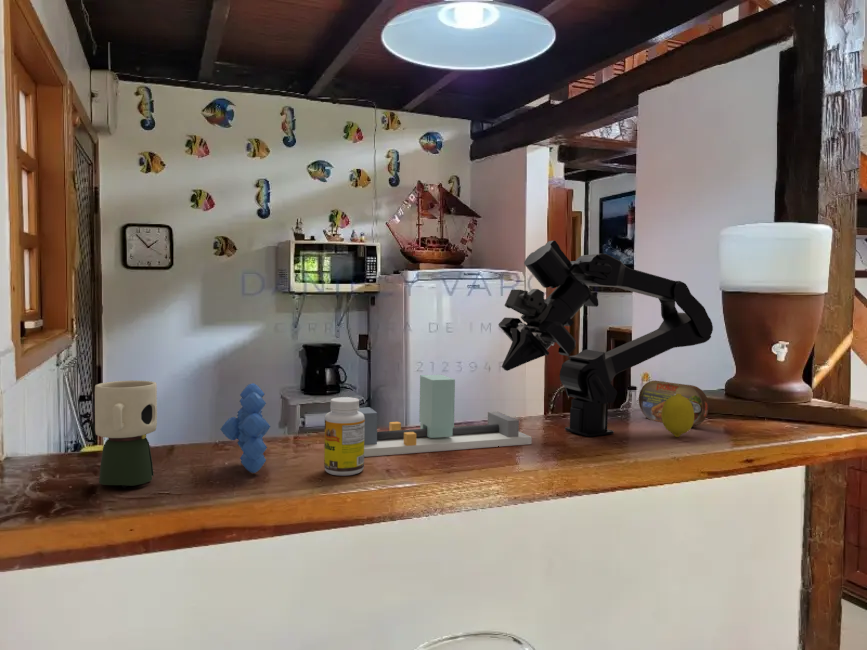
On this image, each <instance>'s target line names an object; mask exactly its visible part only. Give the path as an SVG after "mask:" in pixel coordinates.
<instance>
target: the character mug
mask: <svg viewBox="0 0 867 650" xmlns="http://www.w3.org/2000/svg"><path fill="white" fill-rule="evenodd" d="M157 387H158V386H157V382H156V381H150V380H116V381H108V382H100V383H97V384H95V386H94V431H95V435H96V436H98V437H101V438H107V439H106V441H105V442H104V444H103V447H102V454H101V460H100V466H99V467H100V468H99V477H98V483H99V484H100V485H101V486H102V485H104V486H121V487H122V488H123V489H125V488H127V487H128V486H131V487H132V486H138V485H143V484H147V483H148V482H149V483H150V482H151V481H153V478H154V477H155V474H154V467H153V457H152V452H151V445H150V442H149V440H148V438H147V435H149V434H151V433H153V432H155V431H156V430H157V426H158V422H157V421H158V406H157V405H158V404H157V402H158V401H157V399H158V397H157V396H158V395H157V394H158V393H157V392H158V391H157V389H158V388H157Z"/></svg>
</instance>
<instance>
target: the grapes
mask: <svg viewBox="0 0 867 650" xmlns="http://www.w3.org/2000/svg"><path fill="white" fill-rule="evenodd" d="M239 396H240V397H241V398H240V400H239V402H240V405H241V408H240V409H238V411H237V415H236V416H237V417H235V416H232V417H230V418H228V419H227V420H226V421H225V422H224V423H223V425H221V428H219V429H220V431H221V432H222V434H223V435H224V436H225V437H226V438H227V439H228V440H230V441H235V440H237V446H239V448H240V450H241V451H242V452H243V453H242V454H241V456H240V458H239V459H240V463H241V465H242V466H243V467H244V468H245V470H246V471H247V472H249V473H251V474H255V473H257V472H259V471H260V470H261V468H262V467H264V464H265V463H266V461H267V459H266V458H265V455H264V453H265V451H266V450H267V449H268V447H267V445H266V443H265V442H264V439H263V437H264V436H265V435H266V434H267V433H268V431H269V430H270V428H271V425H270V424H269V423H268V421H267V420H266V419H265V418H264V417H263V415H262V413H263V411H262V410H263V409H264V407H265V406H266V405H267V403H266V401H265V400H264V398H263V397H264V396H265V392H264V391H263V390H262V389H261V387H260V386H259V385H257V384H256V383H253V382H252V383H248V385H246V386H245V388H244V389H243V390H242V391H241V393H240V394H239Z"/></svg>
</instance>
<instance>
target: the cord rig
mask: <svg viewBox="0 0 867 650" xmlns="http://www.w3.org/2000/svg"><path fill="white" fill-rule="evenodd" d="M359 412H361V413H363V414H364V417H365V430H364V458H365V457H366V458H367V457H377V456H378V457H379V456H391V455H392V456H393V455H394V456H395V455H406V454H416V453H417V454H418V453H419V454H420V453H431V452H433V453H434V452H445V451H455V450H456V451H457V450H469V449H470V450H471V449H472V450H473V449H482V448H483V449H484V448H495V447H496V448H498V446H499V447H511V446H523V445H532V444H533V443H532V441H533V440H532V436H530V435H528V434H525V433H523V432H521V431H519V428H520V426H519V425H520V422H519V421H520V419H517V418H514V417H512V416H509V415H507V414H505V413H502V412H500V411H488V412H487V424H480V425H464V426H462V425H461V426H454V428H453V435H452V436H450V437H435V438H429V437H428V436H427V429H420V428H413V429H412V428H411V429H402V422H400V421H390V422H389V423H388V425H389V426H388V429H389V430H382V431H378V412H377V411H376V410H374V409H373V408H372V407H370V406H369V407H359Z"/></svg>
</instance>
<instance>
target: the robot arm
mask: <svg viewBox="0 0 867 650" xmlns="http://www.w3.org/2000/svg"><path fill="white" fill-rule="evenodd" d="M523 264H524V266H525V267H526V268H527V269H528V271H529V272H530V274H532V275H533V277H534V278H535V279H536V281H537V282H538V283H539V284H540V285H541V286H542V288H544V289H547V288H550V289H553V291H552V292H551V293H550V294H549V295H548V296H547V297H546V298H545V292H544V291H542V290H541V289H539V288H532V289H531V290H529V292H528V291H527V290H524V289H510V292H509V294H508V296H507V299H506V301H505V304H504V307H505V308H508V309H511V310H513V311H515V312H517V313H518V314H520V315H521V316H520V318H518V317H504V318H503V319H502V320H500V322H499V323H498V327H499V328H500V329H501V330H502V332H503V333H504V334H505V335H506V336H507V337H508V339H509V340H510V341H511V342H512V343H511V345H510V347H509V350H508V351H507V354H506V356H505V359H504V361H503V362H502V364H501V368H502V369H503V370H504V371H505V372H506V371H507V372H508V371H511V370H513V369H514V368H518V367H519V366H523V365H525V364H526V363H530V362H532V361H534V360H536V359H540V358H543V357H544V356H549V355H550V352H549V351H548V350H549V348H551V347H552V346H553V347H554V346H555V344H557V345H558V351H557V352H558V354H559V355H561V356H567V358H568V360H566V361H564V362H563V363H562V365H561V367H560V370H559V381H560V382H561V385H563V387H564V390H565V393H566V396H567V397H570V398H572V399H571V407H570V408H569V426H565V427H564V430H565V431H568V432H571V433H575V434H579V435H581V436H585V437H596V436H604V435H611V434H614V430H612V429H608V421H609V419H608V417H609V404H610V403H615V401H616V397H617V395H618V390H617V389H616V388H615V387H614V386H613V384H611V383H612V381H613V380H614V378H615V377H616V375H618V374H620V373H622V372H624V371H627V370H629V369H630V368H634V367H635V366H637V365H640V364H641V363H644V362H646V361H648V360H651V359H653V358H655V357H657V356H658V355H661V354H663V353H666V352H667V351H670V350H671V349H675V348H682V347H691V346H696V345H700V344H704V343H707V342H708V341H709V340H710V339H711V338H712V333H713V331H714V326H713V322H712V320H711V318H710V316H709V315H708V313H707V311H706V308H705V306H703V305H702V303H701V302H700V301H699V300H698V299H697V298H696V297H695V296H694V295H693V294H692V293H691V291H690V289H689V287H688V285H687V284H686V283H685V282H684V281H681V280H673V279H670V278H669V279H668V278H667V277H666V278H665V277H662V276H659V275H655V274H651V273H648V272H644V271H641V270H639V269H638V270H637V269H634V268H630V267H629V266H626V265H625V264H624V263H623V262H622V261H621V260H620V259H618V258H616V257H614V256H612V255H609V254H607V253H594V254H585V255H580V256H579V257H577V258H576V260H570V259H569V258H568V256H567V255H566V254H565V253H564V251H562V249H561V247H560V245H559V244H558V243H557V241H556V240H548V241H547V242H546V243H545V244H544V245H542V246H540V247H539V248H537V249H536V250H534V251H533V252H531V253H530V254H529V255H527V256H526V258H525V259H524V261H523ZM589 287H609V288H618V289H621V290H624V291H628V292H629V291H630V292H633V293H636V294H641V295H644V296H648V297H652V298H655V299H658V300H659V302H660V313H661V314H660V316H661V318H662V322H661V323H660V325H659V326H658V328H657V329H655V330H653V331H651V332H648V333H647V334H644V335H642V336H639V337H637V338H635V339H633V340H630V341H628V342H626V343H624V344H621V345H619V346H617V347H615V348H613V349H610V350H608V351H606V352H605V351H599V350H594V349H593V350H592V349H584V350H582V351H580V352H578V353H577V354H575V355H574V354H573V355H571V354H572V353H573V352H574V351H575V349H576V345H577V344H576V343H577V341H576V338H574V336H573V335H572V334H571V333H570V332H569V331H568V329H567V328H566V327H571V326H572V325H573V324H574V323H575V322H574V321H573V320H572V319H573V318H574V316H575V315H576V314H577V313H578V312H579V311H580V309H581V308H582V307H583V306H585V307H593V308H594V307H595V308H596V307H599V299H598V292H597V291H591V289H590V288H589ZM676 305H677V306H678V307H679V308H680V309H681V310H682V311H683V312H679V311H678V310H677V307H676Z"/></svg>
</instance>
